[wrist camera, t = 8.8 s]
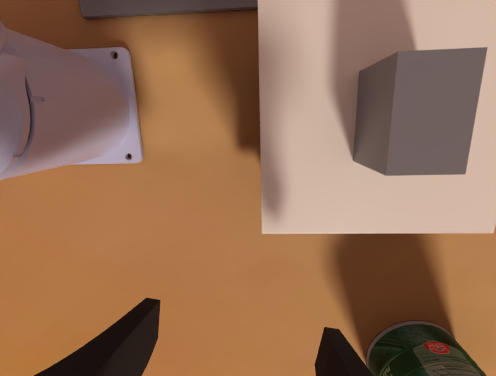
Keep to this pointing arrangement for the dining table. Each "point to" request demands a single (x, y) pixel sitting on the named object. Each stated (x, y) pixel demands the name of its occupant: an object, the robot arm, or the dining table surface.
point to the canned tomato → (418, 352)
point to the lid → (377, 116)
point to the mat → (158, 7)
